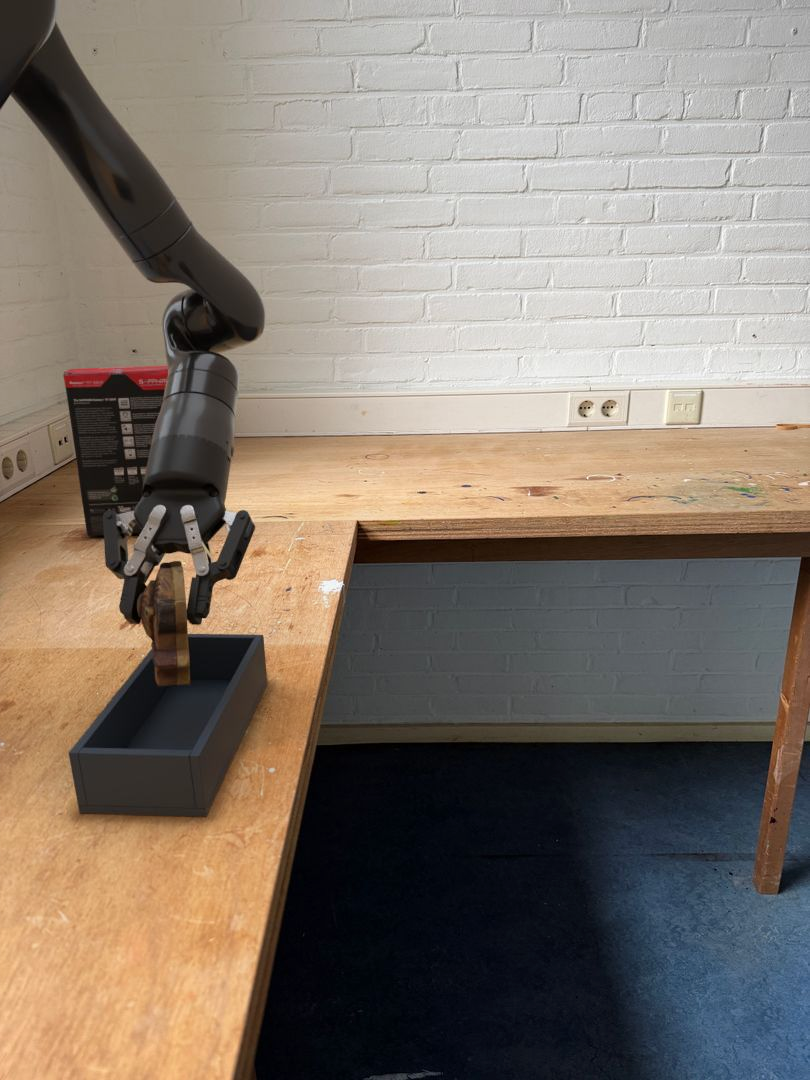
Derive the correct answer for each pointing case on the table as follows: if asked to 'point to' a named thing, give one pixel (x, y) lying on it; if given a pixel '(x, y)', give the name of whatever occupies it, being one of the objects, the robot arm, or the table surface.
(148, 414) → the graphics card box
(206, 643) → the bin
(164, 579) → the wooden carving
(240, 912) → the table surface
